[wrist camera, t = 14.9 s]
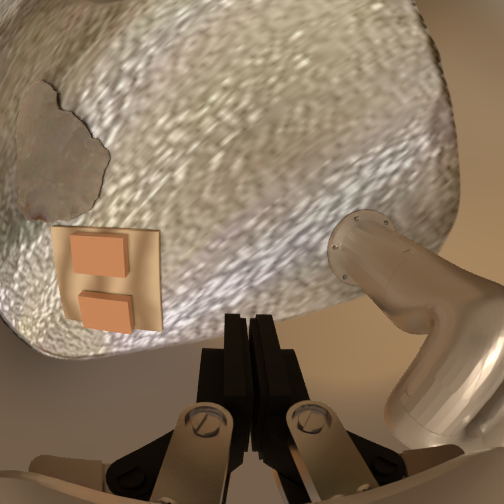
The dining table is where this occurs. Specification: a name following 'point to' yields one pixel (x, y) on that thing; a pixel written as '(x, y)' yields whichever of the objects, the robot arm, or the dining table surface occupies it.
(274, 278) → the dining table surface
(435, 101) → the dining table surface
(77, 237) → the tile
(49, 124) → the stone tool
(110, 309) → the tile
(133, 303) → the board
